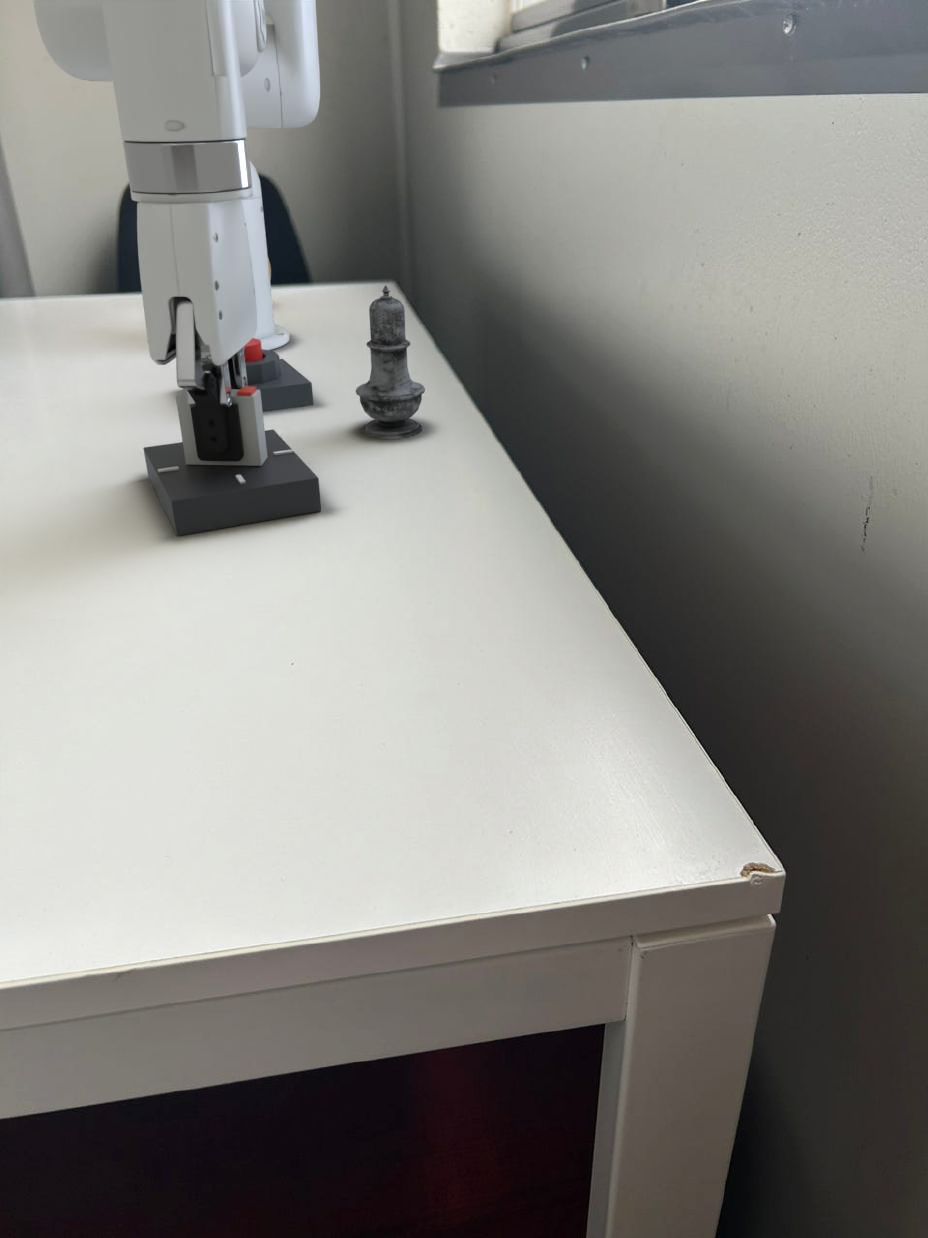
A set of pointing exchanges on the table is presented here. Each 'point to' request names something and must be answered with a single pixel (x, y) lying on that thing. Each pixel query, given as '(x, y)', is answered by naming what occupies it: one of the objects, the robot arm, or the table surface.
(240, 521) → the dark grey base block
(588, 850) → the table surface
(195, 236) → the robot arm
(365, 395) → the salt shaker
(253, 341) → the stop button
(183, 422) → the timer knob
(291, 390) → the stop housing
